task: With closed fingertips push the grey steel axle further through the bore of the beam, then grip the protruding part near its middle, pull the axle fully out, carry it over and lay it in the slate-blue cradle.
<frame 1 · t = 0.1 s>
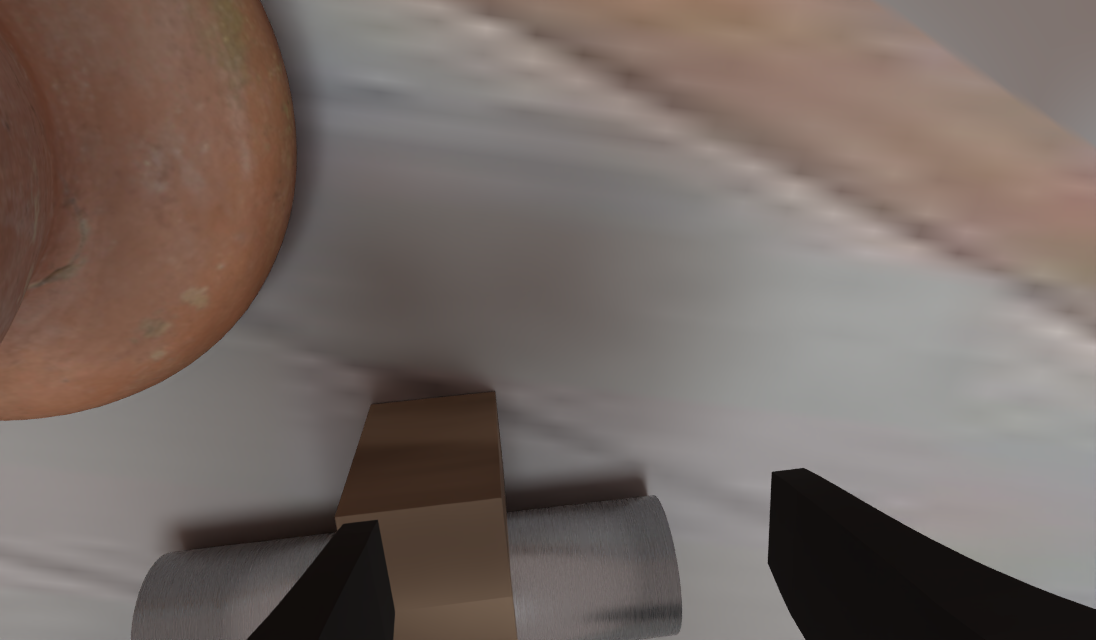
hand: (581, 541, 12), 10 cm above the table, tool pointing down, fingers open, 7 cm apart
beam: (464, 617, 25), on the table
axle: (422, 592, 22), point 2 cm above the table
ceramic jug: (49, 94, 18), on the table
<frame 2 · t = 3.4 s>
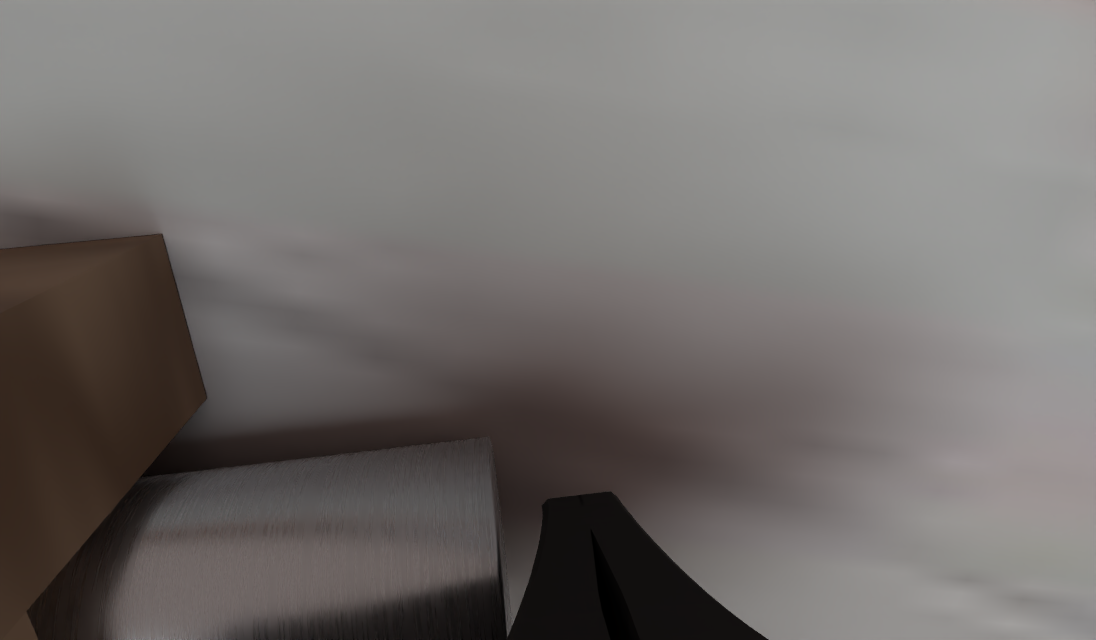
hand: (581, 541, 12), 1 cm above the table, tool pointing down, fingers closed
axle: (12, 630, 11), point 2 cm above the table, touching gripper
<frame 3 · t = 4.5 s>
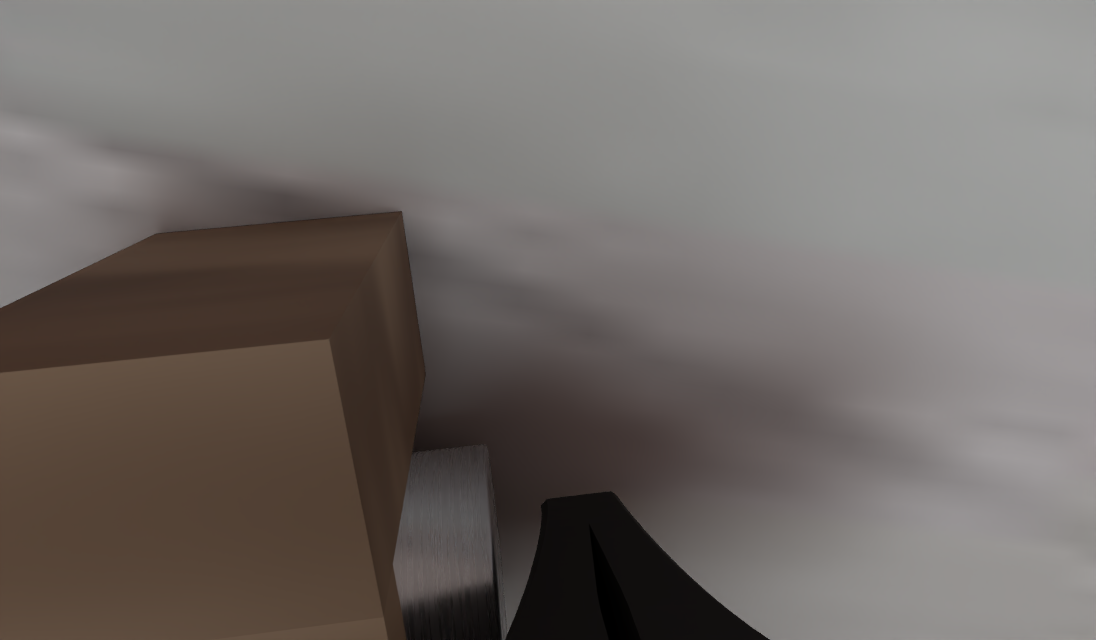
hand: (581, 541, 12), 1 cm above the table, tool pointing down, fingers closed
axle: (0, 639, 11), point 2 cm above the table, tilted 5°, touching gripper
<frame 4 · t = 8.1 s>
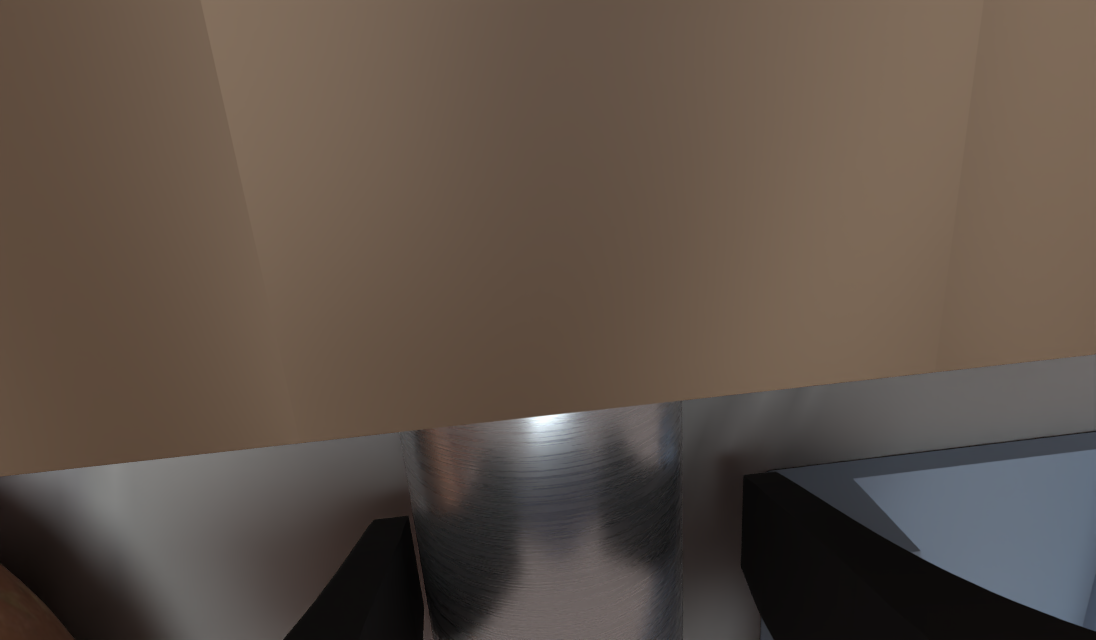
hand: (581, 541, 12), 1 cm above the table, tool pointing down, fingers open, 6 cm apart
cradle: (944, 616, 16), on the table
beam: (725, 120, 11), on the table
axle: (545, 464, 11), point 2 cm above the table, tilted 19°
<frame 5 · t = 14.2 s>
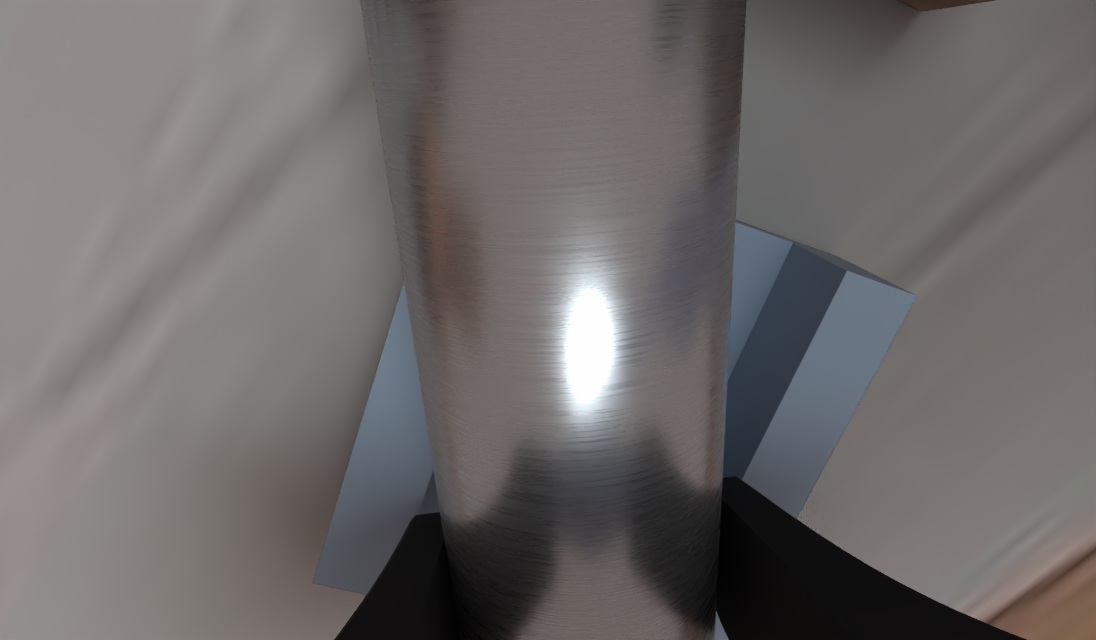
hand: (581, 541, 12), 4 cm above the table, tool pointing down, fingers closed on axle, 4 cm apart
cradle: (583, 381, 15), on the table
axle: (577, 461, 11), point 5 cm above the table, touching cradle, gripper
when the fingers open (4 cm above the table, at t = 14.2 s): axle drops 1 cm, resting on cradle.
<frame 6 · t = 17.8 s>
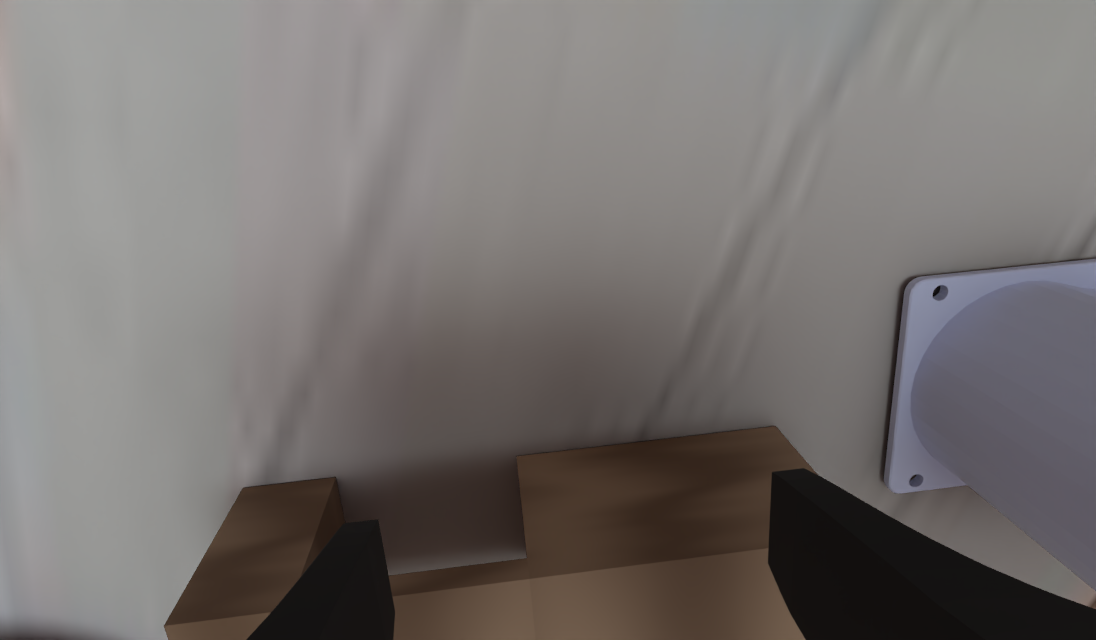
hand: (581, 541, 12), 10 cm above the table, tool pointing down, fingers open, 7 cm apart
beam: (521, 506, 24), on the table
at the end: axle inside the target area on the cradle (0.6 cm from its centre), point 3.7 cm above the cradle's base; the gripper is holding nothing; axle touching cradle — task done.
